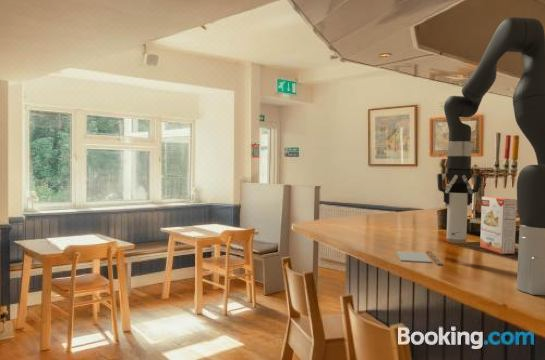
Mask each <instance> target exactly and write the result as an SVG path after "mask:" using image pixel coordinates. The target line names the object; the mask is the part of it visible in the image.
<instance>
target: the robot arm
mask: <svg viewBox="0 0 545 360" xmlns="http://www.w3.org/2000/svg"><path fill="white" fill-rule="evenodd" d="M507 52H508V53H509V52H510V53H520V54H521V58H522V63H523V64H522V65H523V66H522V67H523V69H522V75H521V76H520V79H519V81H518V82H517V85H516V87H515V89H514V92H513V96H512V105H513V106H512V107H513V112H514V118H515V122H516V125H517V126H518V127H519V130H520V131H521V132H522V134H523V135H524V136H525V138H526V139H527V140H528V142H529V143H530V145H531V146H532V148H533V151H534V153H535V156H536V162H537V164H529V165H526V166H524V167H522V169H521V170H520V172H519V173H518V176H517V181H516V200H517V210H516V213H517V214H518V218H519V230H518V231H519V232H518V233H519V234H518V251H517V252H518V253H517V254H518V255H517V272H516V273H517V274H516V277H517V279H516V289H517V290H518V291H520V292H523V293H527V294H530V295H535V296H545V29H544V25H543V23H542V22H541V21H540V20H539V19H537V18H530V17H529V18H528V17H520V16H519V17H516V16H515V17H514V16H513V17H507V18H505V19H504V20H503V21H502V22H501V23H500V24H499V25H498V26H497V28H496V30H495V32H494V33H493V35H492V38H491V40H490V41H489V43H488V44H487V47H486V48H485V50H484V53H483V54H482V57H481V59H480V61H479V63H478V64H477V66H476V69H474V71H473V72H472V74H471V75H470V77H468V79H467V81H466V82H465V83H464V85H463V86H462V88H461V94H462V96H460V95H451V96H449V97H448V98H447V99H446V100H445V102H444V106H443V110H444V114H445V115H444V116H445V119H446V123H447V128H448V144H447V152H446V155H447V159H446V172H445V173H437V174H436V180H437V190H438V191H439V192H441V193H443V203H445V205H448V204H449V193H448V192H449V190H450V188H451V187H452V184H461V183H467V188H468V190H467V191H468V203H467V206H471V204H473V195H474V194H475V193H479V191H480V186H481V178H482V176H481V174H477V173H475V174H474V173H472V142H471V141H472V127H471V125H469V124H466V123H463V121H461V119H460V118H470V117H473V116H474V115H476V114H477V112H478V110H479V107H480V105H481V103H482V100H483V98H484V96H485V95H486V93H487V92H489V90H490V89H492V88H491V87H492V86H493V85H494V84H495V82H496V79H497V67H498V63H499V61H500V59H501V58H502V57H503V56H504V55H505V54H506V53H507ZM445 177H446V179H447V180H448V182H447V184H446V186H445V187H444V184H443V180H445ZM471 179H472V181H474V182H473V188H472V187H471V184H470V182H469V181H470V180H471Z"/></svg>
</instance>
